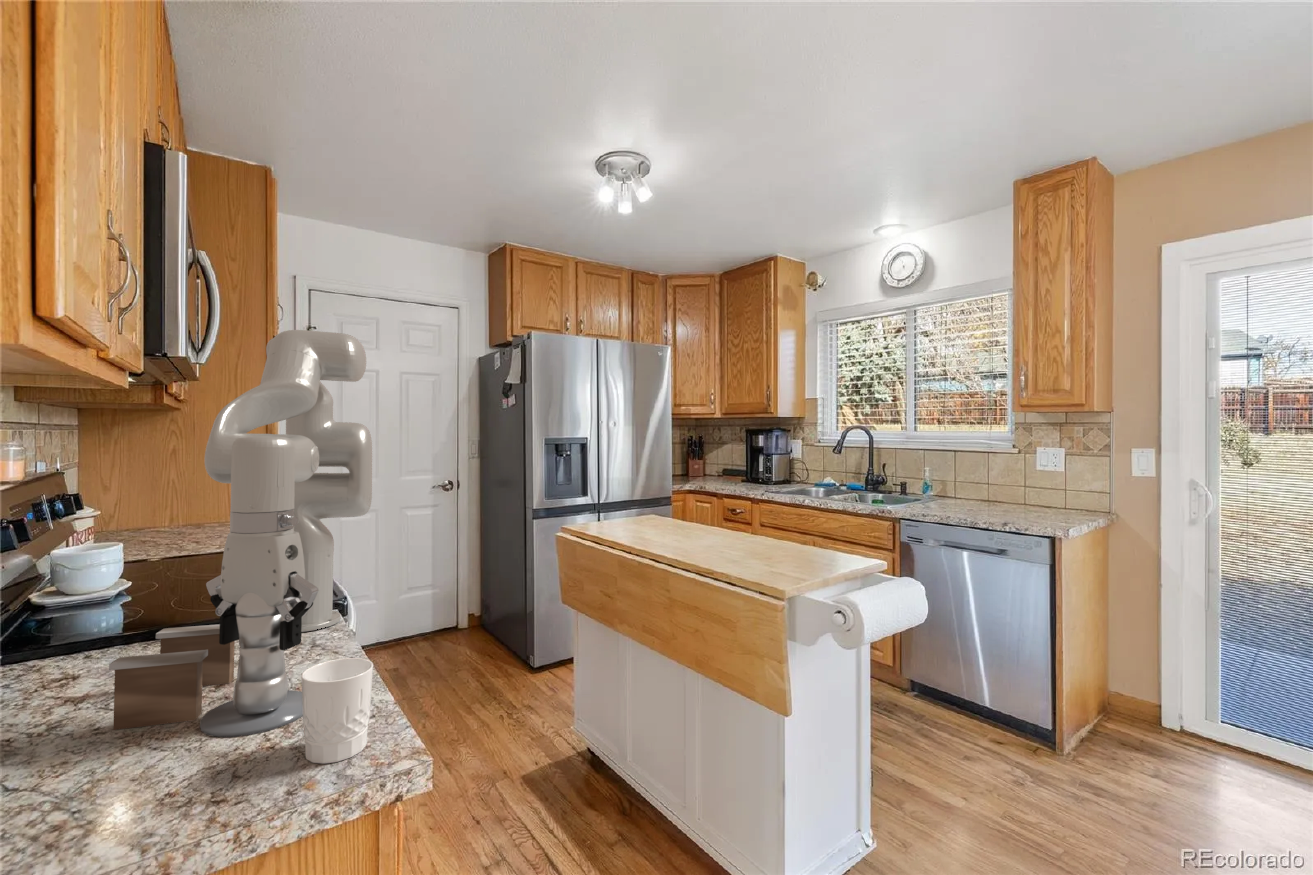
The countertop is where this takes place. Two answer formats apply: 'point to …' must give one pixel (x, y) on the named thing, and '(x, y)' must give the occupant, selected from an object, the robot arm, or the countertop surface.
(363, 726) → the white cup
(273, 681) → the grey bulging hollow cylinder
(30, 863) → the countertop surface
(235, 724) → the coaster
